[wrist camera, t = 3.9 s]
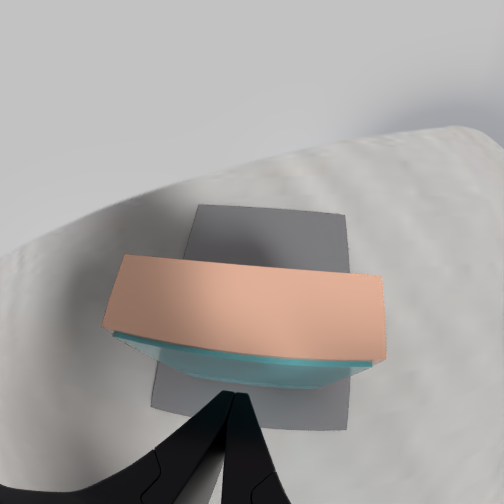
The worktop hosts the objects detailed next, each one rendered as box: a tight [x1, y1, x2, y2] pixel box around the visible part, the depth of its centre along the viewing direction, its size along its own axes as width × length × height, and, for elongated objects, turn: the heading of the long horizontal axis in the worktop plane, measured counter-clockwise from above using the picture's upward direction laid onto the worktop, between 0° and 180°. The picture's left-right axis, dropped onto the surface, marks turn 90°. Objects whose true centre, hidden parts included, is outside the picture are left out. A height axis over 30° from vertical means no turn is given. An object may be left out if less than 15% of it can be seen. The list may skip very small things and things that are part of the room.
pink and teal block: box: [101, 254, 386, 389], centre depth 11 cm, size 3×8×10 cm, turn 83°
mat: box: [151, 205, 350, 431], centre depth 18 cm, size 16×12×1 cm
